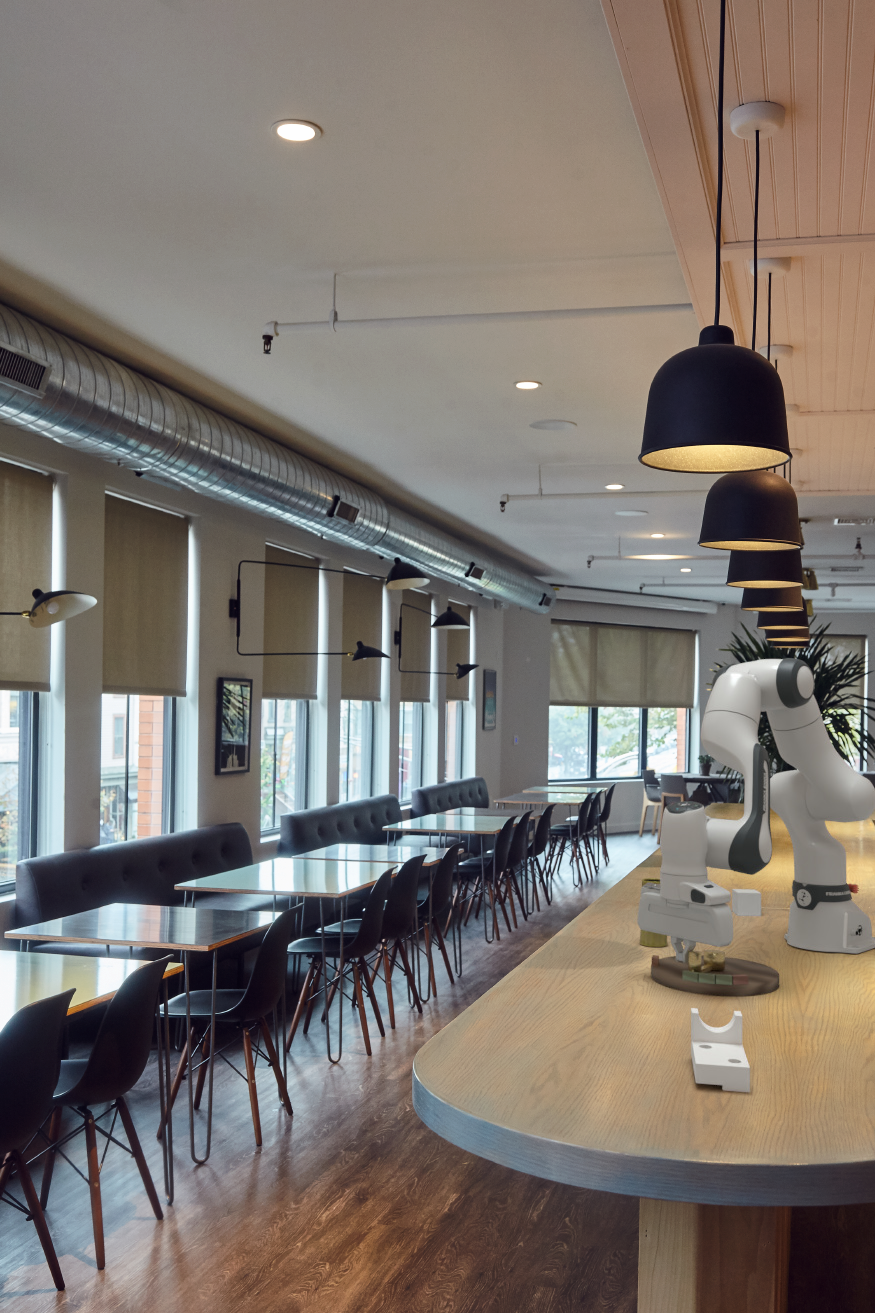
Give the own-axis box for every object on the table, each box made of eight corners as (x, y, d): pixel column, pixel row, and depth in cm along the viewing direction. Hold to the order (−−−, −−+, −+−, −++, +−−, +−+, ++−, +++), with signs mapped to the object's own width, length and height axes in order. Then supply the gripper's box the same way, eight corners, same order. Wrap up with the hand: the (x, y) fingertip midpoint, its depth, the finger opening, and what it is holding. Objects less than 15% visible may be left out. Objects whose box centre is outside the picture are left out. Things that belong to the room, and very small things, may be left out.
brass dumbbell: (708, 964, 206) (708, 941, 206) (728, 967, 203) (728, 944, 204) (680, 975, 196) (680, 951, 197) (700, 979, 194) (700, 955, 194)
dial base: (709, 960, 219) (709, 943, 220) (806, 985, 200) (806, 966, 200) (625, 974, 206) (625, 956, 206) (720, 1002, 186) (720, 982, 186)
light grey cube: (732, 912, 277) (732, 889, 277) (755, 912, 277) (755, 889, 277) (737, 916, 271) (737, 892, 271) (761, 916, 271) (761, 893, 271)
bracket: (690, 1060, 155) (691, 1008, 156) (740, 1063, 154) (740, 1011, 155) (695, 1090, 143) (695, 1033, 143) (749, 1094, 141) (749, 1037, 142)
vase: (667, 948, 231) (667, 882, 231) (639, 946, 232) (639, 881, 233) (667, 942, 237) (667, 878, 237) (639, 941, 238) (639, 877, 239)
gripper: (630, 882, 206) (630, 953, 205) (717, 897, 189) (716, 975, 189) (651, 879, 209) (651, 950, 209) (738, 894, 193) (738, 970, 193)
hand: (683, 962), depth 199 cm, fingers closed
